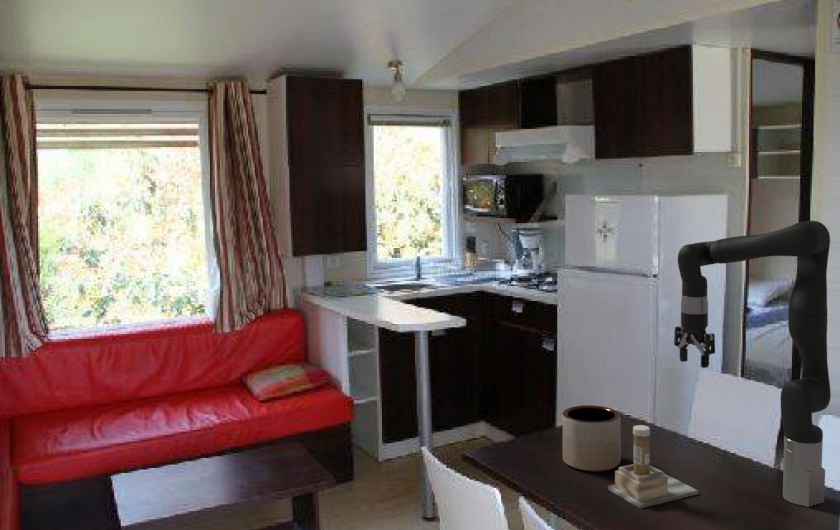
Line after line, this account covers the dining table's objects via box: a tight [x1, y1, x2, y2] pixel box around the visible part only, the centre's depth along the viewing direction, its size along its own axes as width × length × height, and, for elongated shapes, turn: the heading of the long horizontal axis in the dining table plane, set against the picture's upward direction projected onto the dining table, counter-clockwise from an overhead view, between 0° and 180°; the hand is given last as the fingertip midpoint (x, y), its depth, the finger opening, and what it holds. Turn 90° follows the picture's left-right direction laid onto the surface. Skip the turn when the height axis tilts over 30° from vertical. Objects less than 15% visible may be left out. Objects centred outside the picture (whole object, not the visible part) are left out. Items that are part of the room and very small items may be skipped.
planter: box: [562, 404, 622, 472], centre depth 234 cm, size 18×18×16 cm
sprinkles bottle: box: [632, 424, 651, 476], centre depth 209 cm, size 5×5×14 cm
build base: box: [607, 463, 699, 509], centre depth 212 cm, size 14×20×7 cm
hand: (693, 364), depth 224 cm, fingers open, 8 cm apart
